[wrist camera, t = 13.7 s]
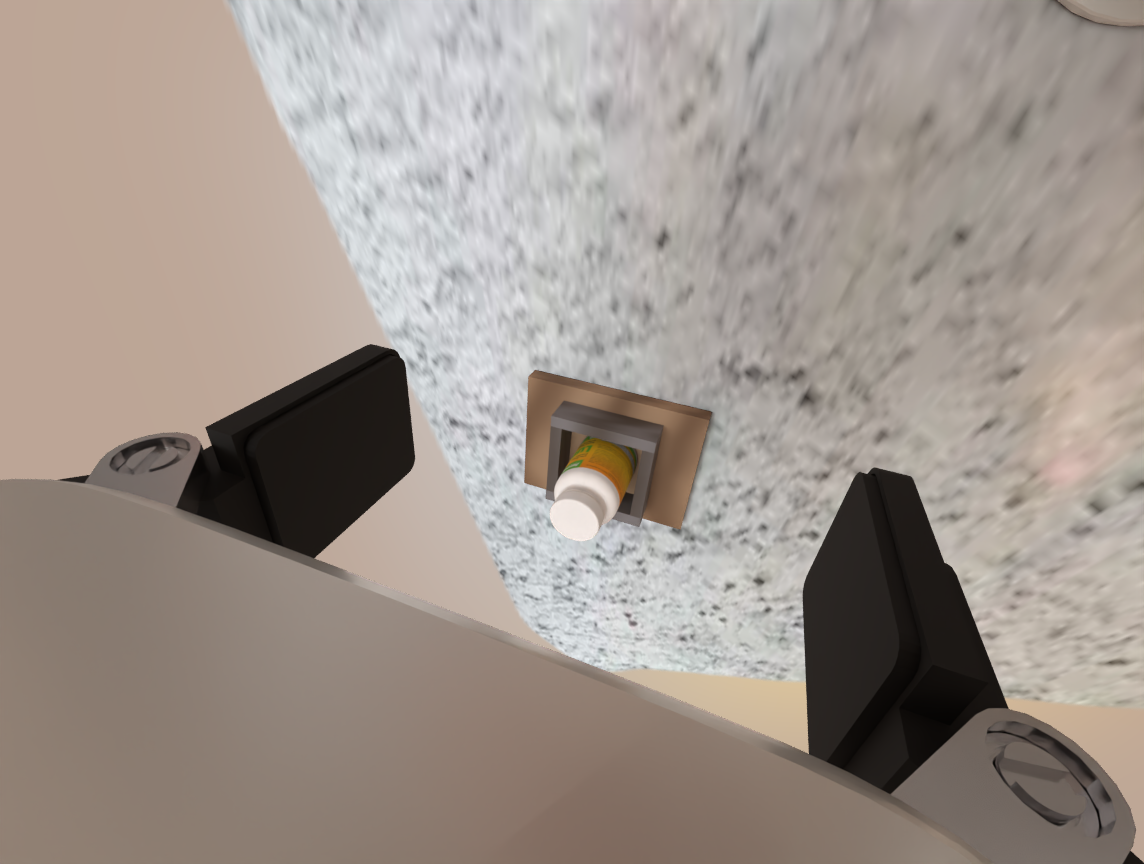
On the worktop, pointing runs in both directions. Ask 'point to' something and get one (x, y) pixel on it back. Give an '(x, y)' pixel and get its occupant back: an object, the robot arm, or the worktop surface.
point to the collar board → (621, 417)
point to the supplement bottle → (592, 487)
